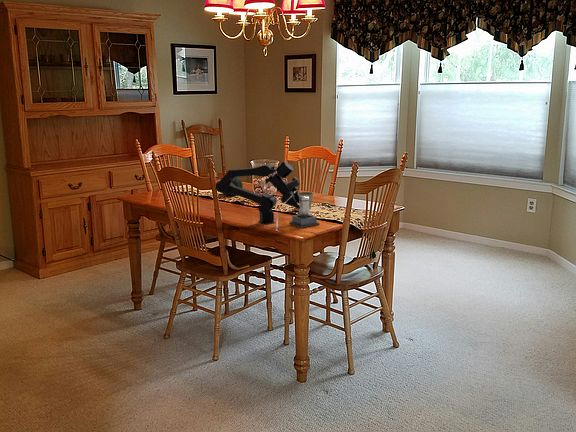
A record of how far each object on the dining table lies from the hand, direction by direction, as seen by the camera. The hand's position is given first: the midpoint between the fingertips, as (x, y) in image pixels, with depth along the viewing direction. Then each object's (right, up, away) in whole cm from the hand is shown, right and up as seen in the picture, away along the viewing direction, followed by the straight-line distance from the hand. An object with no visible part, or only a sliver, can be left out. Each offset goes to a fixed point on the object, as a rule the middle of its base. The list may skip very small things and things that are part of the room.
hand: (301, 206), depth 295 cm
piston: (+2, -8, +2) cm, 8 cm away
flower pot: (+3, -1, +37) cm, 37 cm away
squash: (-43, +9, +78) cm, 89 cm away
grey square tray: (+2, -9, +2) cm, 9 cm away
